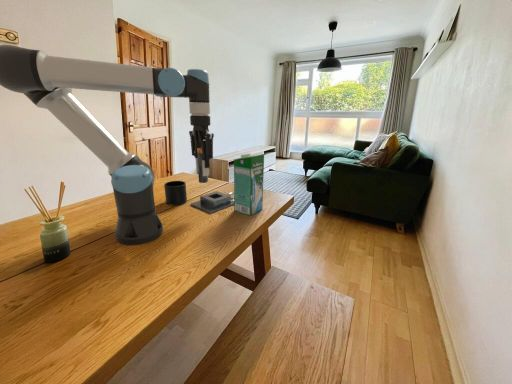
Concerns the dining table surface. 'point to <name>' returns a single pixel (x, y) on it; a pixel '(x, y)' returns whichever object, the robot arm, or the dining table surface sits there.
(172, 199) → the mug
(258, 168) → the milk carton
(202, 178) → the copper tipped cylinder
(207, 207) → the grey peg hole base
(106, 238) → the dining table surface
